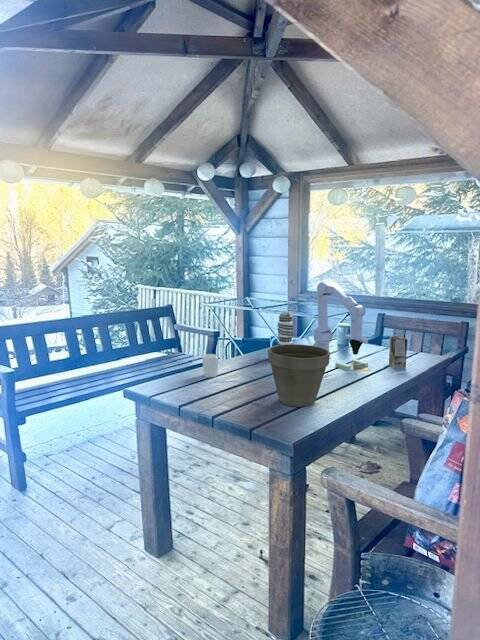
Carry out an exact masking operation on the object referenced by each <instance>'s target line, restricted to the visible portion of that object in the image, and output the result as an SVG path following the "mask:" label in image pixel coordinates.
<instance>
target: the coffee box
mask: <svg viewBox="0 0 480 640" xmlns="http://www.w3.org/2000/svg"><path fill="white" fill-rule="evenodd" d="M389 337H390V338H389V355H388V356H389V357H388V366H389V367H391V368H392V369H393V370H407V369H406V368H407V366H406V365H407V351H408V350H407V349H408V338H405V337H404V336H400V335H399V336H397V335H395V336H389Z"/></svg>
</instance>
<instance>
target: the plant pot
mask: <svg viewBox="0 0 480 640" xmlns="http://www.w3.org/2000/svg"><path fill="white" fill-rule="evenodd" d="M267 349H268V350H267V359H268V363H269V364H270V365H271V366H270V367H271V371H272V376H273V379H274V384H275V388H276V392H277V398H278V400H279V402H280V403H281V404H283V405H285V406H287V407H296V408H304V407H310V406H312V405H314V404H315V402H316V400H317V397H318V394H319V390H320V387H321V386H322V385H321V384H322V382H323V379H324V376H325V372H326V368H327V367H328V366H329V364H330V359H329V358H330V357H331V352H330V350H329V351H328V350H326V349H324V348H321V347H316V346H313V345H309V344H297V343H296V344H294V343H292V344H286V345H278V344H277V345H274V346H271V347H269V348H267Z"/></svg>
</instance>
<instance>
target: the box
mask: <svg viewBox="0 0 480 640" xmlns="http://www.w3.org/2000/svg"><path fill="white" fill-rule="evenodd" d="M351 361H352V362H351V363H344V362H341V361H338V362H335V367H336V368H339V369H341V370H345V371H350V370H351V371H353V365H354V364H360V363H365V364H364V367H366V368H368V367H369V362H366V361H364V360H360V359H357V358H355V359H351Z"/></svg>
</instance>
